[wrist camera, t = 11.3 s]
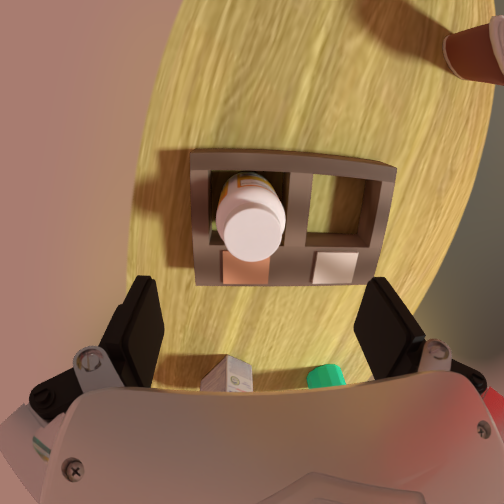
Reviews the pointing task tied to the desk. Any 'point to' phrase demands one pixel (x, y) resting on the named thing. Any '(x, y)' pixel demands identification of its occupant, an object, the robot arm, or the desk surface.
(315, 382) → the candle
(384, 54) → the desk surface
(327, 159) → the socket block
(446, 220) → the desk surface
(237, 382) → the medicine box
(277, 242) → the supplement bottle
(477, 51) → the coffee cup
